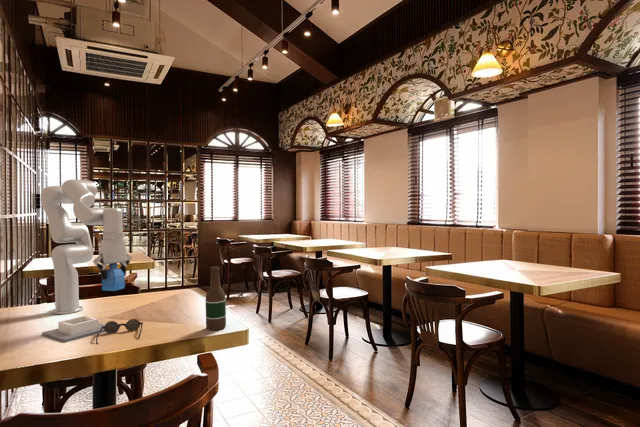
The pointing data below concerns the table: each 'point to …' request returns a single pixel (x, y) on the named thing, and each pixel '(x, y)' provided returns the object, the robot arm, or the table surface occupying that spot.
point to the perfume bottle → (113, 279)
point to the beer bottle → (215, 303)
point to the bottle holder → (75, 329)
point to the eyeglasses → (114, 326)
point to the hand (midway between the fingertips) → (113, 277)
